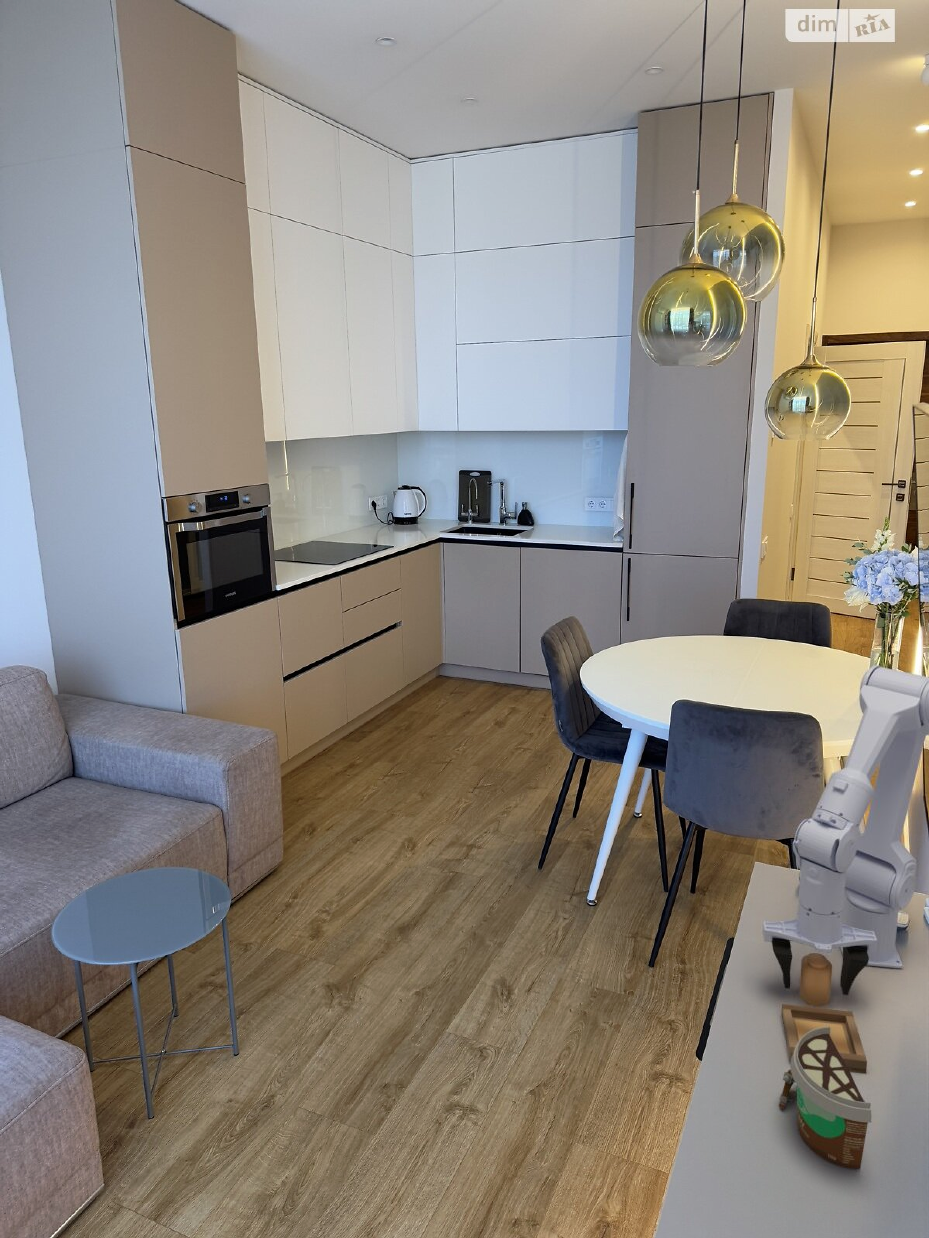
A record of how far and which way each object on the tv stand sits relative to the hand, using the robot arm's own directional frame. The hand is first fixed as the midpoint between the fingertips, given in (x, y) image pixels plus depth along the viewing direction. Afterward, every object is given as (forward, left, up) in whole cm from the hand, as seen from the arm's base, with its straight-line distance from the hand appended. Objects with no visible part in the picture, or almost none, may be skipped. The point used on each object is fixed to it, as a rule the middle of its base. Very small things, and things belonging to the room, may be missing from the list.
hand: (815, 986), depth 120 cm
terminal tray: (+9, 0, -2) cm, 9 cm away
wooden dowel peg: (0, 0, -2) cm, 2 cm away
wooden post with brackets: (+18, -4, -2) cm, 19 cm away
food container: (+24, -3, -2) cm, 24 cm away
